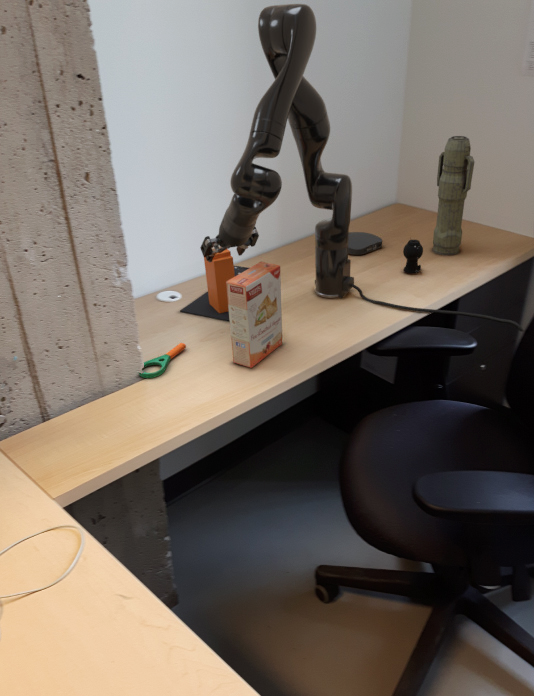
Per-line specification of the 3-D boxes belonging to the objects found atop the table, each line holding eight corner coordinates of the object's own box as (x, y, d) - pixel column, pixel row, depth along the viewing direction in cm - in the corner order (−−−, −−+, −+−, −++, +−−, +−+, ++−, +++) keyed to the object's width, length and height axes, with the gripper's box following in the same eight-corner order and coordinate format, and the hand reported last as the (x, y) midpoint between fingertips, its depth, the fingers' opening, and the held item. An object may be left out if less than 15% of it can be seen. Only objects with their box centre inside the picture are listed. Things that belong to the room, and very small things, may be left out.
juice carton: (202, 245, 159) (212, 253, 154) (221, 241, 161) (232, 249, 156) (209, 303, 169) (219, 313, 163) (227, 299, 171) (237, 309, 165)
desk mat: (266, 303, 168) (266, 302, 168) (241, 324, 158) (241, 322, 158) (207, 292, 176) (207, 291, 176) (180, 311, 166) (180, 310, 166)
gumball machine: (425, 274, 181) (428, 243, 175) (407, 277, 180) (409, 245, 174) (416, 267, 186) (418, 235, 181) (398, 269, 185) (400, 238, 180)
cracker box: (253, 369, 139) (246, 286, 127) (232, 363, 141) (223, 281, 130) (284, 344, 148) (281, 264, 137) (264, 338, 151) (259, 259, 139)
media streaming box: (356, 236, 212) (356, 228, 210) (386, 246, 203) (387, 237, 201) (326, 247, 204) (326, 238, 203) (357, 257, 195) (357, 249, 193)
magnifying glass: (152, 380, 136) (151, 374, 135) (133, 374, 139) (131, 368, 138) (193, 351, 147) (192, 345, 146) (174, 346, 150) (173, 340, 149)
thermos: (455, 258, 191) (469, 142, 172) (423, 250, 198) (434, 138, 178) (468, 250, 196) (484, 136, 177) (437, 243, 203) (449, 133, 184)
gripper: (215, 243, 137) (203, 274, 152) (270, 231, 142) (253, 262, 157) (204, 214, 138) (193, 248, 153) (259, 204, 143) (243, 237, 158)
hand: (224, 255), depth 155 cm, fingers open, 8 cm apart
